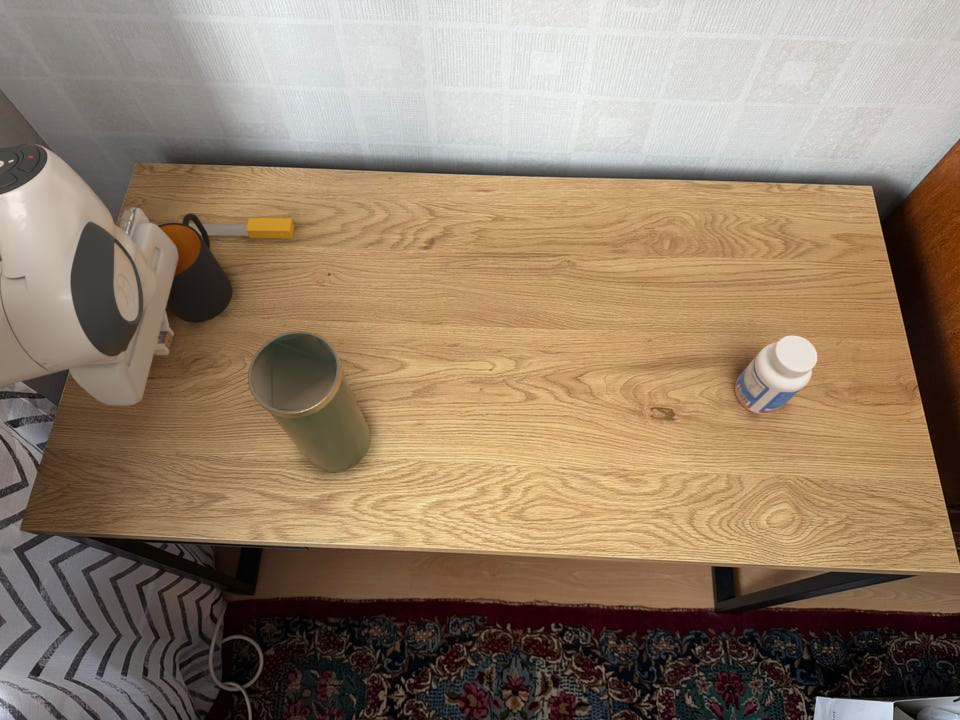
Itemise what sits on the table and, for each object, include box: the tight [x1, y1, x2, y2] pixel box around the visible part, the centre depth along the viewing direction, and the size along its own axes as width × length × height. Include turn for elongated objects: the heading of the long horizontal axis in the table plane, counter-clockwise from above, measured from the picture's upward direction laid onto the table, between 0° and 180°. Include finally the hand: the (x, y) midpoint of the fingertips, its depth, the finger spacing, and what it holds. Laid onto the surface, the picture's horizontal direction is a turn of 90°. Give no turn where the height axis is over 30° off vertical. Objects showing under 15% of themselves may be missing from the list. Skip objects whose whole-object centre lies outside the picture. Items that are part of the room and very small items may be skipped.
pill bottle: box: [734, 335, 818, 415], centre depth 74 cm, size 6×6×11 cm
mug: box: [157, 212, 233, 323], centre depth 81 cm, size 8×12×10 cm
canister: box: [247, 330, 372, 473], centre depth 67 cm, size 8×8×20 cm
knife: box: [189, 217, 296, 240], centre depth 88 cm, size 18×2×2 cm, turn 89°
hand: (165, 344), depth 75 cm, fingers closed
